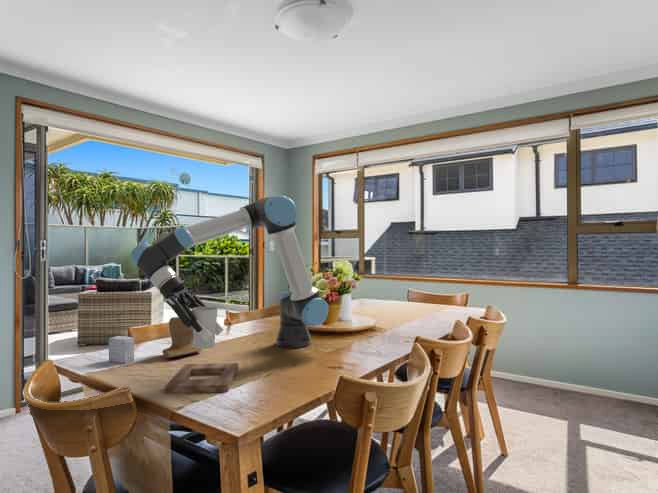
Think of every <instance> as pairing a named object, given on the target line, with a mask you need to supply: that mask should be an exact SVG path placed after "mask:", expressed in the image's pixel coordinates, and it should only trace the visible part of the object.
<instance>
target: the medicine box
mask: <svg viewBox="0 0 658 493" xmlns="http://www.w3.org/2000/svg"><path fill="white" fill-rule="evenodd" d="M134 361H135V338H134V337H131V336H121V335H117V336H112V337H110V338H108V362H111V363H120V364H128V363H131V362H134Z"/></svg>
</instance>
